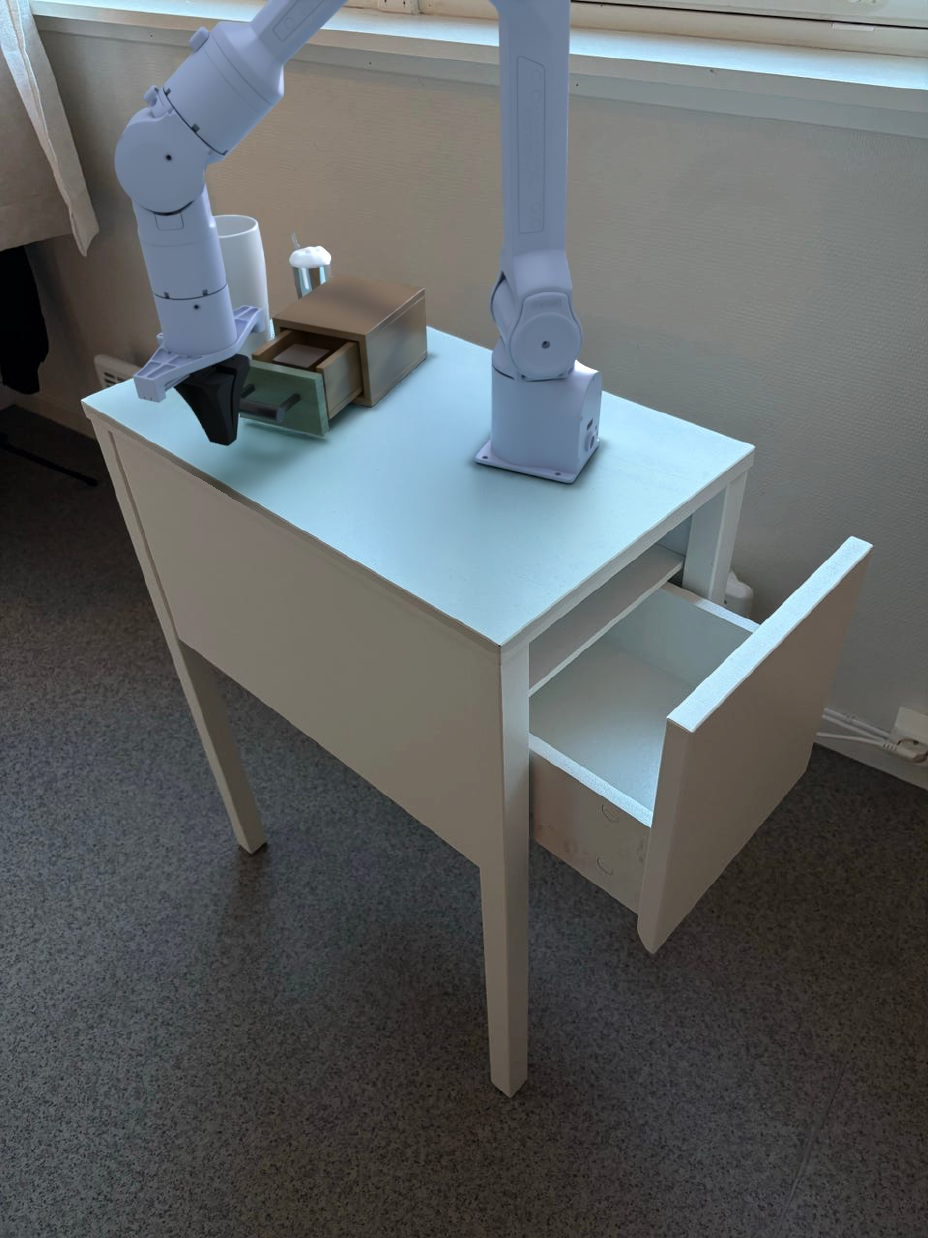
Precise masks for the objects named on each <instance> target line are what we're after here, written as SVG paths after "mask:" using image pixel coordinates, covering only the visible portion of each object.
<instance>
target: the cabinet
mask: <svg viewBox="0 0 928 1238" xmlns="http://www.w3.org/2000/svg"><path fill="white" fill-rule="evenodd" d="M426 307H427V306H426V288H425V287H423V286H417V285H411V284H402V283H399V282H392V281H385V280H381V279H373V278H367V277H361V276H356V275H350V274H349V275H348V274H342V273H336V274H335V275H333V276H331V278H330V279H328V280H327V281H325V282H324V283H322V284H321V285H320V286H318V287H317V288H315V289H314V290H312V291H311V292H309V293H308V294H306V295H305V296H303V297H302V298H300V299H299V300H298V299H297V300H296V301H294V302H293V303H291V304H289V305H288V306H287V307H285V308H284V309H282V310H281V311H279V312H278V313H277V314H274V315H273V316H272V317H271V322H272V328H273V334H274V338H275V337H276V336H277V335H279V334H280V333H282V332H283V331H285V330H286V329H287V328H291V329H296V330H302V331H307V332H312V333H318V334H323V335H328V336H333V337H339V338H344V339H349V340H355V341H360V342H359V345H360V355H361V365H362V375H363V386H364V390H363V391H362V392H361V393H360V394H359V395H358V396H356V397H355V398H354V399H353V400H352V401H351V402H350V403H351V404H355V405H360V406H365V407H370V408H373V407H374V406H375V405H376V404H378V402H379V401H381V399H383V398H384V397H385V396H386V395H388V393H390V391H392V390H393V389H394V388H395V387H397V385H398V384H399V383H400V382H401V381H402V380H404V378H406V377H407V376H408V375H409V374H410V373H412V372H413V370H415V368H417V367H418V366H419V365H420V364H421V363H423V362H424V361H425V359H426V358H428V356H429V351H428V333H427V332H428V331H427V312H426V311H427V310H426V309H427V308H426ZM350 403H349V404H350Z"/></svg>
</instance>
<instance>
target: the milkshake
mask: <svg viewBox="0 0 928 1238" xmlns="http://www.w3.org/2000/svg"><path fill="white" fill-rule="evenodd" d="M290 235H291V238H292V241H293V245H294V248H295V250H294V251H293V252H292V253H291V255H290V257H289V259H288V261H289V265H290V269H291V274H292V278H293V282H294V286H295V290H296V295H297V300H299V299H300V298H302V297H303V296H305V295H306V294H308V293H309V292H311V291H312V290H314V289H315V288H317V287H318V286H320V285H321V284H322V283H324V282H325V281H327V280H328V279H330V278H331V277H332V255H331V253H330V252H328V251H327V250H326V249H325V248H324V247H323V246H321V245H317V246H307V247H304V248H300V245H299V243H298V240H297V237H296V233H294V232H293V233H291V234H290Z"/></svg>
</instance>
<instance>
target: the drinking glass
mask: <svg viewBox="0 0 928 1238" xmlns="http://www.w3.org/2000/svg"><path fill="white" fill-rule="evenodd" d="M212 216H213V217H214V219H215V222H216V226H217V232H218V237H219V242H220V248H221V253H222V258H223V263H224V269H225V274H226V279H227V284H228V289H229V294H230V300H231V305H232V310H236V309H238V308H239V307H241V306H243V305H246V306H252V307H257V308H262V309H263V315H264V321H265V327H266V330H265V331H263V332H262V333H260V334H255V333H252V334H251V335H249V336H248V337H247V338H246V340H245V341H244V343H243V345H242V346H241V348H240V350H239V351H238V352H237V354H242V355H246V356H247V357H248V358H249V359H251V360H252V356H251V354H252V353H253V352H255V351H256V350H257V349H259V348H260V347H262V346H263V345H265V344H266V343H267V342H269V341H270V340H272V331H271V318H270V307H269V305H270V304H269V293H268V279H267V267H266V266H267V265H266V258H265V251H264V245H263V241H262V235H261V230H260V225H259V222H258V220H257V219H255V218H254V217H252V216H248V215H243V214H242V215H241V214H221V215H220V214H219V215H212Z"/></svg>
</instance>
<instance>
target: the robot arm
mask: <svg viewBox="0 0 928 1238" xmlns="http://www.w3.org/2000/svg"><path fill="white" fill-rule="evenodd" d="M349 1H350V0H268V1H267V2H266V3H265V4H264V5H263V6H262V7H261V9H260V10H259V11H258V13H257V14H255V17H253V19H251V20H250V21H246V22H239V21H228V20H222V21H221V20H220V21H218V22H217V23H216V25H215V26H214V27H213V28H212V29H211V31H210V32H209V30H208V29H207V28H206V27H205V26H202V25H201V26H200V27H199V28H198V29H196V32H194V34H193V35H192V36H191V37H190V39H189V41H188V44H189V47H190V48H191V49H192V50H193V51H192V52H191V53H190V55H188V57H186V59H185V60H184V61H183V62H182V63H181V64H180V66H178V68H177V69H176V70H175V71H174V72H173V74H172V75H171V76H170V77H169V78H168V79H167V80H166V81H165V83H164V84H163V85H162V86H161V87H160V88H158V86H156V85H155V84H152V85H151V86H150V87H149V88H148V90H147V91H146V92H145V93H144V95H143V101H144V102H145V103H146V105H148V106H149V107H147V106H146V107H144V108H142V109H140V110H139V111H137V112H136V113H135V114H134V115H133V116H132V117H131V118H130V120H129V121H128V123H127V125H126V127H125V129H124V130H123V132H122V133H121V136H120V138H119V139H118V141H117V144H116V147H115V149H114V161H113V162H114V170H115V171H114V172H115V173H116V177H117V181H118V183H119V185H120V186H121V188H122V189H123V191H124V192H125V193H126V195H127V196H128V197H129V198H130V199H131V202H132V210H133V213H134V216H135V219H136V224H137V236H138V239H139V243H140V248H141V251H142V252H141V253H142V255H143V259H144V265H145V269H146V271H147V276H148V280H149V284H150V289H151V292H152V296H153V300H154V305H155V308H156V313H157V318H158V321H159V325H160V328H161V332H160V333H158V334H157V335H156V341H157V344H158V345H159V347H158V348H157V349H156V351H155V352H154V353H153V355H152V356H151V357H150V358H149V360H148V361H147V362H146V363H145V364H144V366H143V367H142V368H141V369H140V370H138V371H137V372H135V373H134V374H133V375H132V379H133V382H134V383H133V384H134V386H135V389H136V393H137V398H138V399H140V400H145V401H148V402H153V403H157V404H159V403H161V402H162V401H164V400H166V398H167V394H166V393H167V392H168V391H170V390H171V389H174V390H175V391H176V392H177V393H178V394H179V396H181V398H182V399H183V400H184V401H185V403H186V404H187V405H188V406H189V408H190V409H191V411H192V412H193V414H194V416H195V417H196V419H197V421H198V423H199V425H200V426H201V428H202V431H204V433H205V435H206V437H207V439H208V441H209V443H213V444H215V445H216V444H217V445H220V446H225V447H229V446H230V445H232V444H233V443H235V441H236V440H237V439H238V433H239V432H238V431H239V429H238V428H239V418H240V415H239V407H240V399H241V394H242V390H243V386H244V383H245V380H246V377H247V375H248V372H249V370H250V368H251V367H250V362H249V358H248V357H247V356H246V355H242V354H237V352H238V351H239V350H240V348H241V346H242V345H243V343H244V341H245V340H246V338H247V337H248V336H249V335H251V334H252V333H255V334H260V333H262V332H263V331H265V330H266V327H265V321H264V315H263V309H262V308H257V307H252V306H246V305H243V306H241V307H239V308H238V309H236V310H232V305H231V300H230V294H229V289H228V284H227V279H226V274H225V269H224V263H223V258H222V253H221V248H220V242H219V237H218V232H217V226H216V222H215V219H214V217H213V216H214V215H213V214H212V208H211V203H210V199H209V193H208V189H207V182H205V173H206V171H207V168H208V166H210V165H212V164H215V163H219V162H223V161H224V160H225V159H226V158H227V157H228V156H229V154H230V153H231V152H232V151H233V150H234V149H235V148H236V147H237V146H238V145H239V144H240V143H241V142H242V141H243V140H244V138H245V137H247V136H248V134H250V132H251V131H252V130H253V129H254V128H255V127H256V126H257V125H258V124H259V123H260V122H261V121H262V120H263V119H264V117H266V115H267V114H269V113H270V112H271V110H272V109H273V108H274V107H276V105H277V104H278V103H279V102H280V101H281V100H282V99H283V97H284V95H285V80H284V77H285V76H284V66H285V64H287V63H288V61H289V60H291V58H293V56H294V55H295V54H296V53H297V52H299V50H300V49H302V47H304V46H305V44H307V42H309V41H310V39H312V37H314V36H315V35H316V34H317V33H318V31H320V29H322V28H323V27H324V26H325V25H326V23H328V21H330V19H332V18H333V17H334V16H335V15H336V14H337V13H338V12H339V11H341V9H342V8H343V7H344V6H345V5H346V4H347V3H348V2H349ZM487 1H488V2H489V3H490V4H491V5H492V6H493V7H494V9H495V11H496V12H497V16H498V55H499V56H498V57H499V59H498V61H499V64H498V65H499V100H500V101H499V105H500V106H499V107H500V140H501V141H500V146H501V147H500V149H501V151H500V153H501V186H502V187H501V193H502V195H501V197H502V239H503V241H502V245H501V248H500V251H499V253H498V265H499V266H498V274H497V278H496V281H495V282H494V285H493V287H492V289H491V292H490V295H489V312H490V316H491V319H492V321H493V322H494V323H495V325H496V326H497V328H498V330H499V333H500V336H499V337H498V341H497V342H496V345H495V347H494V349H493V350H492V352H491V382H490V383H491V385H490V386H491V389H490V390H491V397H490V398H491V401H490V403H491V405H490V407H491V411H490V412H491V413H490V415H491V417H490V418H491V421H490V422H491V423H490V424H491V427H490V428H491V429H490V431H491V433H490V434H491V435H490V438H489V439H488V441H486V442H485V444H483V446H482V447H481V448H480V449H479V451H478V452H477V453H476V454H475V456H474V462H476V463H479V464H483V465H486V466H487V465H488V466H492V467H496V468H500V469H505V470H508V471H513V472H517V473H522V474H526V475H531V476H536V477H540V478H543V479H544V478H545V479H548V480H554V481H558V482H562V483H565V484H566V483H567V484H571V483H573V482H574V481H575V480H576V478H577V477H578V475H579V474H580V472H582V470H583V468H584V466H586V464H587V462H588V461H589V459H590V458H591V456H592V455H593V453H594V452H595V450H596V449H597V448H598V446H599V444H600V443H601V439H600V438H599V431H600V429H599V428H600V416H601V407H602V396H603V395H602V394H603V376H602V373H601V371H599V370H596V369H593V368H590V367H588V366H585V365H584V364H583V363H581V362H580V361H578V358H579V356H580V354H581V352H582V349H583V343H584V332H583V331H584V330H583V327H582V324H581V322H580V320H579V318H578V316H577V314H576V312H575V308H574V302H573V300H574V299H573V297H574V289H573V283H572V277H571V272H570V268H569V261H568V257H567V252H566V236H567V235H566V233H567V232H566V231H567V230H566V229H567V189H568V187H567V185H568V183H567V182H568V142H569V140H568V136H569V131H568V130H569V97H570V95H569V94H570V93H569V92H570V89H569V88H570V52H571V51H570V50H571V49H570V48H571V47H570V46H571V45H570V43H571V6H572V5H571V4H572V3H571V2H572V1H571V0H487Z"/></svg>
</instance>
